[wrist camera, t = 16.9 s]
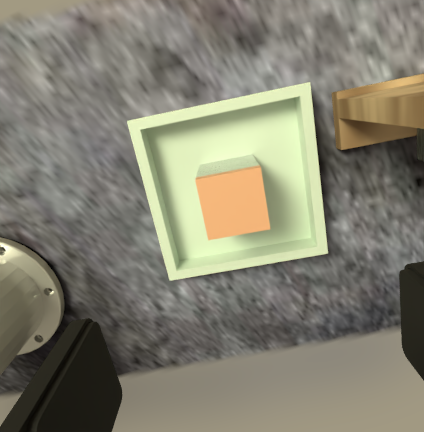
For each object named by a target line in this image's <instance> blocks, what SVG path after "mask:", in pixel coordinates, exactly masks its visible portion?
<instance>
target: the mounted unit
mask: <svg viewBox="0 0 424 432" xmlns="http://www.w3.org/2000/svg"><path fill="white" fill-rule="evenodd" d="M332 103H333V114H334V125H335V137H336V148H337V149H340V150H345V149H350V148H355V147H360V146H365V145H370V144H375V143H380V142H386V141H391V140H396V139H401V138H406V137H411V136H416V135H417V160H421V161H424V74H419V75H414V76H409V77H404V78H400V79H395V80H390V81H385V82H381V83H376V84H371V85H366V86H361V87H357V88H352V89H347V90H342V91H337V92H333V93H332Z"/></svg>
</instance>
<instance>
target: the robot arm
mask: <svg viewBox="0 0 424 432" xmlns="http://www.w3.org/2000/svg"><path fill="white" fill-rule="evenodd" d="M399 279H400V306H401V334H402V348H403V351H404V354H405V356H406V357H407V359H408V360H409V361H410V363H411V364H412V366H413V367H414V368H415V369H416V371H417V372H418V374H419V375H420V376H421V377H422V379H423V380H424V261H423V262H418V263H412V264H407V265H406V266H405V269H404V270H401V271H400V274H399ZM64 306H65V304H64V295H63V291H62V288H61V285H60V282H59V281H58V279H57V277H56V275H55V273H54V272H53V270H52V269H51V268H50V267H49V266H48V264H47V263H46V262H45V261H44V260H43V259H42V258H41V257H39V256H38V255H37V254H36V253H35V252H33V251H32V250H30V249H28V248H27V247H25V246H24V245H21V244H19V243H17V242H14V241H12V240H9V239H5V238H1V237H0V375H1V374H2V372H3V371H4V370H5V369H6V367H7V366H8V365H9V364H10V362H11V361H12V360H13V359H14V358H15V356H16V355H21V354H25V353H29V352H31V351H33V350H36V349H38V348H40V347H41V346H42V345H44V344H45V343H46V342H48V340H49V339H50V338H51V337H52V336H53V334H54V333H55V331H56V330H57V328H58V327H59V325H60V323H61V321H62V318H63V315H64ZM121 400H122V388H121V385H120V382H119V379H118V377H117V374H116V371H115V368H114V365H113V363H112V360H111V357H110V354H109V351H108V349H107V346H106V343H105V340H104V337H103V335H102V332H101V329H100V326H99V324H98V323H97V322H93V321H92V319H90V318H88V319H82V320H76V321H72V322H70V323H69V325H68V326H67V328H66V329H65V331H64V332H63V334H62V335H61V337H60V338H59V340H58V341H57V343H56V344H55V346H54V347H53V349H52V350H51V352H50V353H49V355H48V356H47V358H46V359H45V361H44V362H43V364H42V365H41V367H40V368H39V370H38V371H37V373H36V374H35V376H34V377H33V379H32V380H31V381H30V383H29V384H28V386H27V387H26V389H25V390H24V392H23V393H22V395H21V396H20V398H19V399H18V401H17V402H16V404H15V405H14V407H13V408H12V410H11V411H10V413H9V414H8V416H7V417H6V419H5V420H4V422H3V423H2V425H1V426H0V432H112V429H113V426H114V422H115V419H116V416H117V413H118V410H119V407H120V404H121Z"/></svg>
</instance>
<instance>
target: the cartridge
mask: <svg viewBox="0 0 424 432" xmlns="http://www.w3.org/2000/svg"><path fill="white" fill-rule="evenodd" d="M195 182H196V186H197V191H198V195H199V200H200V205H201V209H202V214H203V218H204V223H205V228H206V232H207V237H208V240H213V239H219V238H224V237H230V236H236V235H241V234H247V233H252V232H258V231H264V230H269V229H270V223H269V216H268V210H267V203H266V197H265V191H264V184H263V178H262V171H261V167H260V165H259V164H258V162H257V161H256V159H255V157H254V156H253V154H251V155H246V156H241V157H236V158H230V159H225V160H220V161H215V162H210V163H205V164H200V166H199V169H198V172H197V175H196V179H195Z"/></svg>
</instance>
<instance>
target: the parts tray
mask: <svg viewBox="0 0 424 432" xmlns="http://www.w3.org/2000/svg"><path fill="white" fill-rule="evenodd" d="M127 123H128V127H129V131H130V135H131V138H132V142H133V146H134V149H135V153H136V157H137V161H138V164H139V168H140V172H141V175H142V179H143V183H144V187H145V190H146V194H147V198H148V201H149V205H150V209H151V213H152V216H153V220H154V224H155V227H156V231H157V235H158V239H159V242H160V246H161V250H162V253H163V257H164V261H165V265H166V268H167V272H168V276H169V279H170V281H171V280H177V279H183V278H189V277H194V276H200V275H206V274H212V273H218V272H224V271H229V270H235V269H241V268H247V267H253V266H259V265H264V264H270V263H276V262H282V261H288V260H294V259H299V258H305V257H311V256H317V255H323V254H328V248H327V239H326V229H325V220H324V210H323V200H322V191H321V181H320V172H319V162H318V153H317V143H316V134H315V124H314V115H313V105H312V96H311V86H310V82H309V83H304V84H299V85H294V86H290V87H285V88H280V89H276V90H271V91H266V92H261V93H257V94H252V95H247V96H243V97H238V98H233V99H229V100H224V101H219V102H214V103H210V104H205V105H200V106H196V107H191V108H186V109H181V110H177V111H172V112H167V113H163V114H158V115H153V116H148V117H144V118H139V119H134V120H130V121H127ZM251 154H253V156H254V157H255V159H256V161H257V162H258V164H259V165H260V167H261V171H262V178H263V184H264V191H265V197H266V203H267V210H268V216H269V223H270V229H269V230H264V231H258V232H252V233H247V234H241V235H236V236H230V237H224V238H219V239H213V240H208V237H207V232H206V228H205V223H204V218H203V214H202V209H201V205H200V200H199V195H198V191H197V186H196V182H195V179H196V175H197V172H198V169H199V166H200V164H205V163H210V162H215V161H220V160H225V159H230V158H236V157H241V156H246V155H251Z"/></svg>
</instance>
